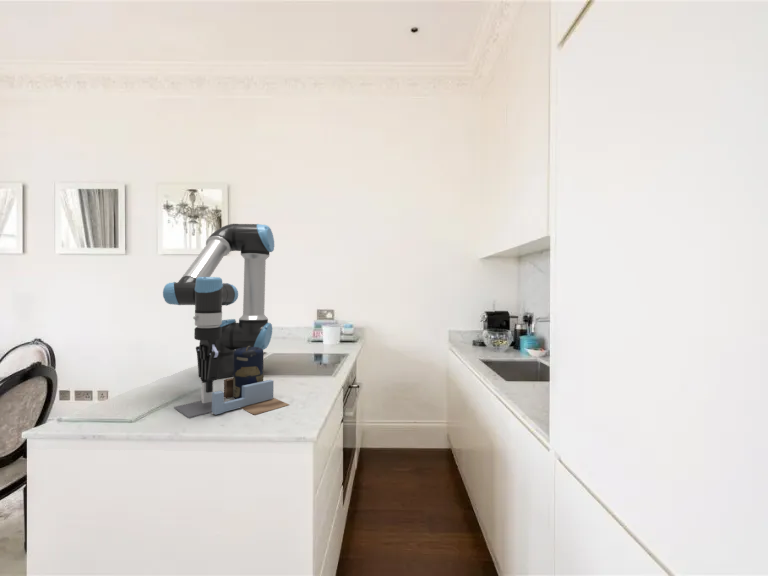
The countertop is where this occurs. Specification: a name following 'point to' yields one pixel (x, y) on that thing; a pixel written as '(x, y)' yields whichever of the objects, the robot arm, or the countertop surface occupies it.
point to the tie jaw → (243, 397)
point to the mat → (194, 409)
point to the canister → (247, 368)
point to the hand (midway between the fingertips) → (207, 401)
